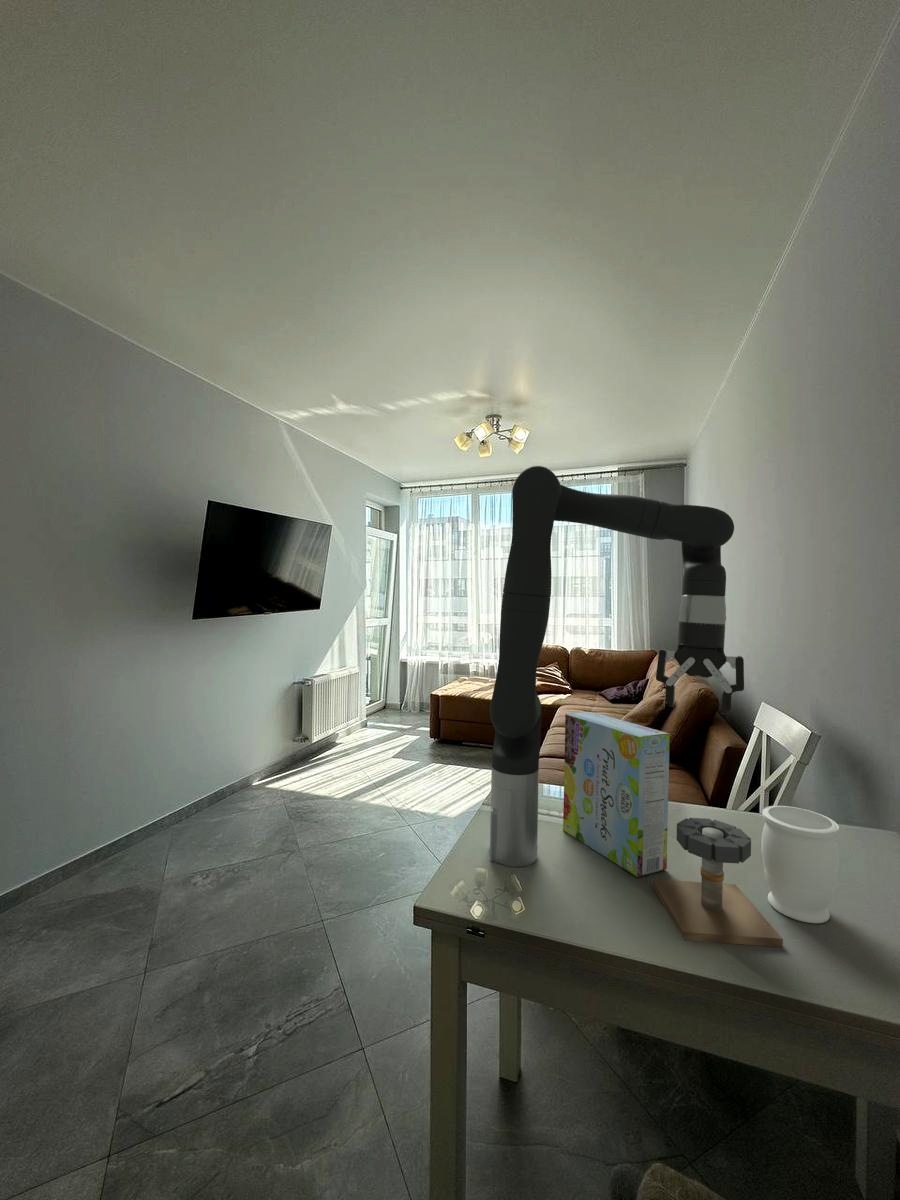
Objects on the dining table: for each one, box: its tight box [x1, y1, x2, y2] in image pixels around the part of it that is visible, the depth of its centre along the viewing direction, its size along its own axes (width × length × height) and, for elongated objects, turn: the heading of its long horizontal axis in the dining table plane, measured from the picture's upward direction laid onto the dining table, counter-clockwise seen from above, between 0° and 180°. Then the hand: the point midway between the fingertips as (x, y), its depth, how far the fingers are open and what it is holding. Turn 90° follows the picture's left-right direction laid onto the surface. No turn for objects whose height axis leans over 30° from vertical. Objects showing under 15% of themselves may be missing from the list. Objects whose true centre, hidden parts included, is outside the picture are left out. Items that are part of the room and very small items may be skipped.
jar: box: [760, 805, 840, 924], centre depth 82 cm, size 11×10×15 cm
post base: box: [652, 827, 784, 948], centre depth 80 cm, size 14×14×13 cm
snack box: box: [562, 711, 671, 878], centre depth 101 cm, size 22×9×26 cm, turn 26°
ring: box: [676, 817, 752, 864], centre depth 80 cm, size 10×10×2 cm
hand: (697, 709), depth 90 cm, fingers open, 8 cm apart
